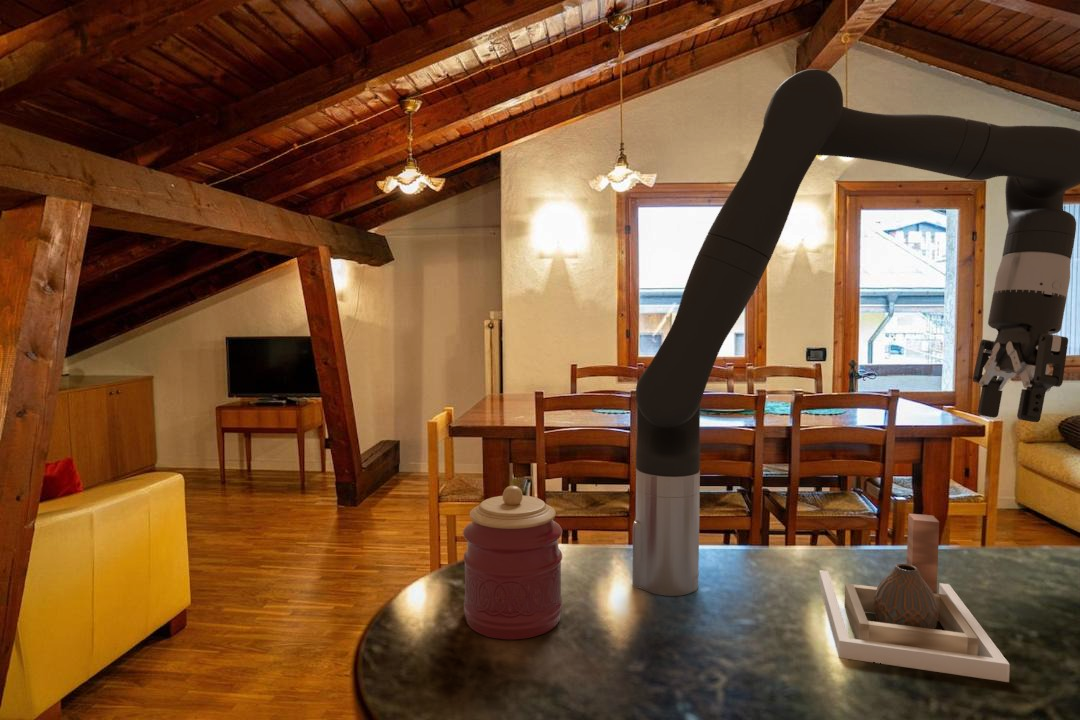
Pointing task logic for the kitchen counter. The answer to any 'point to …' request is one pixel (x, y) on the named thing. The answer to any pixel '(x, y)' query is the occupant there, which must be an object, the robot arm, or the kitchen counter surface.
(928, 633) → the square wooden tray
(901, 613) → the vase
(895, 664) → the rail lane
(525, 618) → the canister
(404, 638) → the kitchen counter surface
